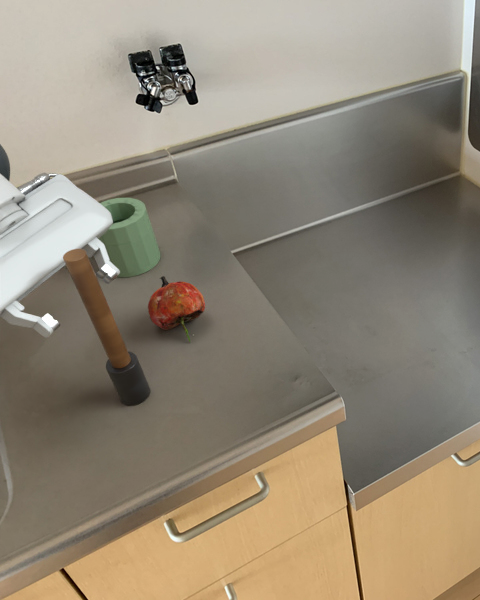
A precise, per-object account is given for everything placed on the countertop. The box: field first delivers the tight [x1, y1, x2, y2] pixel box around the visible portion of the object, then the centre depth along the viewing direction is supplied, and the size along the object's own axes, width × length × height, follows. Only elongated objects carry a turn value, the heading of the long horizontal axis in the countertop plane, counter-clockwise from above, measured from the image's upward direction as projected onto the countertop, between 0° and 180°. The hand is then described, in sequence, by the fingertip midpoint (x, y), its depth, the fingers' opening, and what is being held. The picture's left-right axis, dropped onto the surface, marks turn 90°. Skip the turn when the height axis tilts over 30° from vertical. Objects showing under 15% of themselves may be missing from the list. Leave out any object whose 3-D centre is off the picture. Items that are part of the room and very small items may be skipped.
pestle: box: [63, 249, 151, 406], centre depth 70 cm, size 4×4×22 cm
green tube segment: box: [99, 197, 161, 278], centre depth 95 cm, size 9×9×9 cm
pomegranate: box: [147, 275, 206, 343], centre depth 84 cm, size 7×7×10 cm
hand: (85, 303), depth 67 cm, fingers open, 8 cm apart
